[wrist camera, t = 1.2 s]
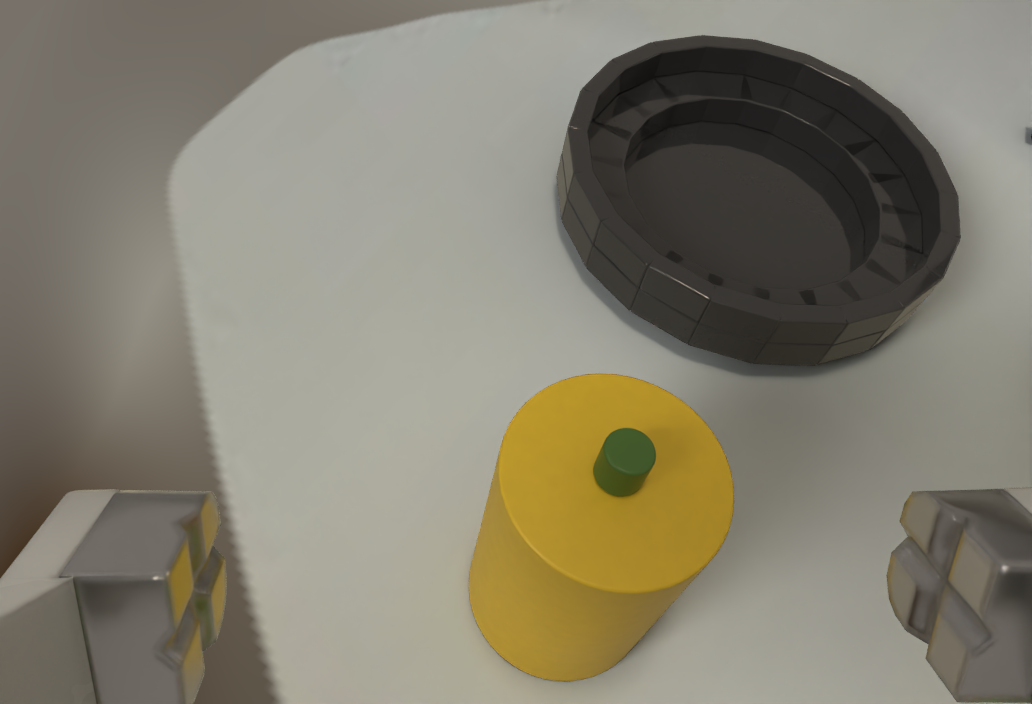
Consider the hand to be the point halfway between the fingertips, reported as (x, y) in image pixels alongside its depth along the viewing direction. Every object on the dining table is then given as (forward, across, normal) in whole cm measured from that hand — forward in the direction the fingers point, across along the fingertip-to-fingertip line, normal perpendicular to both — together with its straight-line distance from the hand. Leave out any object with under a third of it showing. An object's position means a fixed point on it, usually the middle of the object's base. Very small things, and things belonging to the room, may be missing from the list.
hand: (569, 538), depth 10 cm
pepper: (+13, -2, +11) cm, 17 cm away
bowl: (+26, -11, +3) cm, 29 cm away
